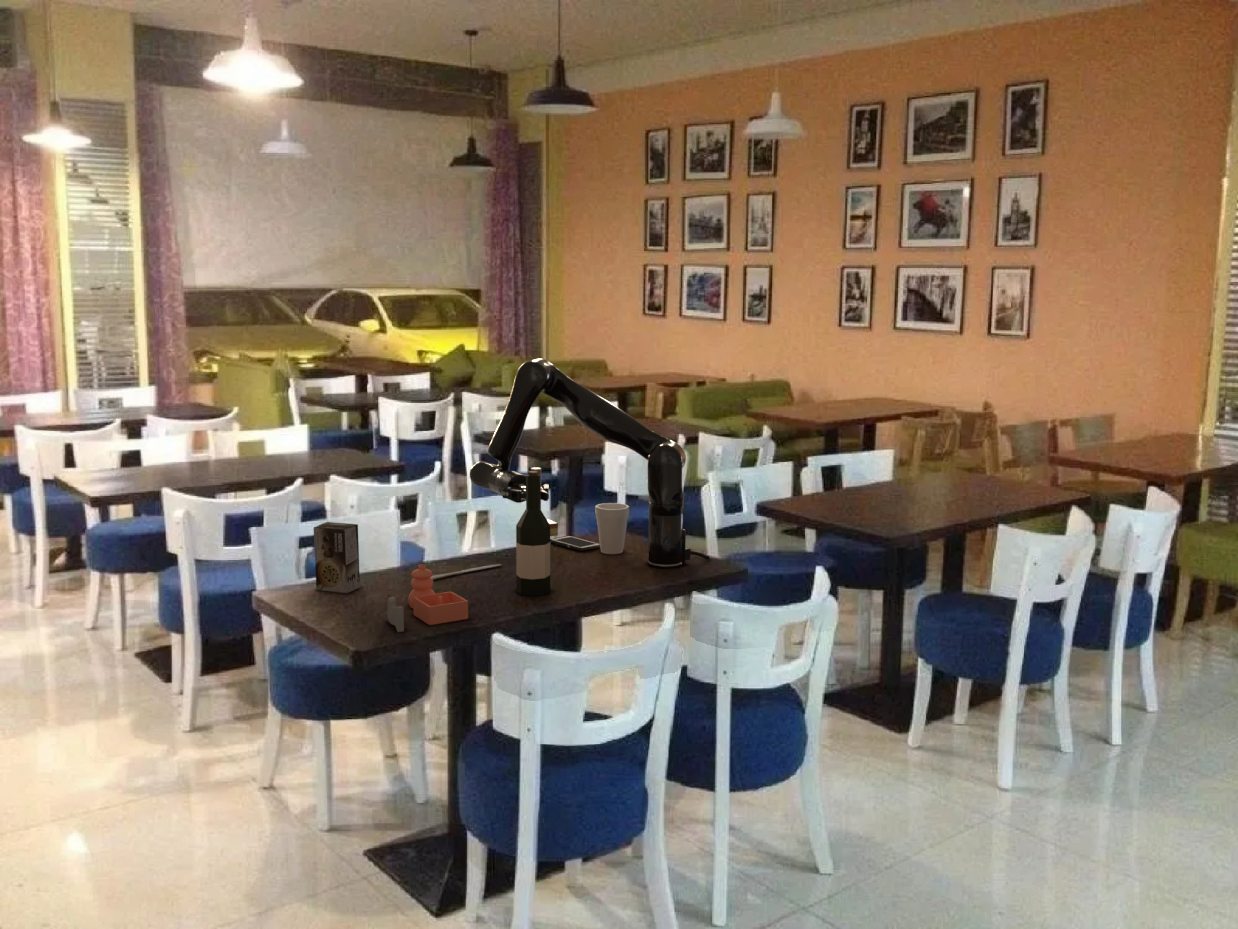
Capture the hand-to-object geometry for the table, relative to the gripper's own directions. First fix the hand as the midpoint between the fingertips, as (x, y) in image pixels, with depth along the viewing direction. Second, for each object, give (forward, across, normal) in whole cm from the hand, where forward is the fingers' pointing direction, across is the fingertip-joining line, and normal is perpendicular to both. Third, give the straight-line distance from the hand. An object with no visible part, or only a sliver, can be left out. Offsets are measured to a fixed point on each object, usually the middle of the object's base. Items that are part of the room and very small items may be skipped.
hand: (541, 497), depth 293 cm
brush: (0, 0, +9) cm, 9 cm away
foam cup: (-19, +31, +22) cm, 42 cm away
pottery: (+13, -34, +22) cm, 43 cm away
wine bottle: (+8, -6, +22) cm, 24 cm away
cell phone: (-30, +25, +22) cm, 44 cm away
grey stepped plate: (+19, -45, +22) cm, 54 cm away
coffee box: (-16, -48, +22) cm, 55 cm away
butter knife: (-16, -15, +22) cm, 31 cm away
